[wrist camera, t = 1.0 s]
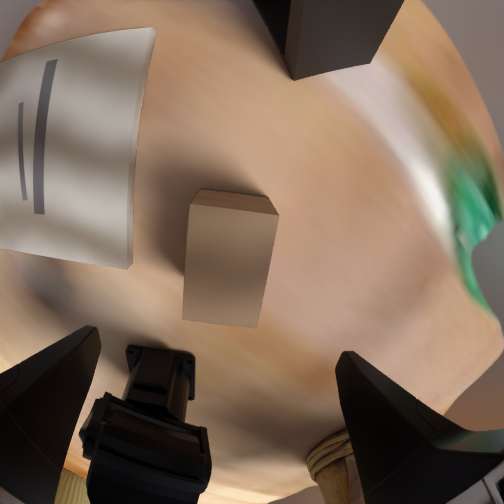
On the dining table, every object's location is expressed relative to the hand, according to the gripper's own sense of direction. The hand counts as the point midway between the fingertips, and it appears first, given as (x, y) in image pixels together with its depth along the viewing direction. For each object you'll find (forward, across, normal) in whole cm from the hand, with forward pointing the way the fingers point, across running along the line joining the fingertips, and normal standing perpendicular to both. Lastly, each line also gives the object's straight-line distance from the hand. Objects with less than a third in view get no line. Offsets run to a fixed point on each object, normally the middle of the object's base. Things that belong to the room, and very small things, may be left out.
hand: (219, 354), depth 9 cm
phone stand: (+11, -3, -17) cm, 21 cm away
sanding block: (+11, 0, 0) cm, 11 cm away
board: (+11, +15, -6) cm, 20 cm away
